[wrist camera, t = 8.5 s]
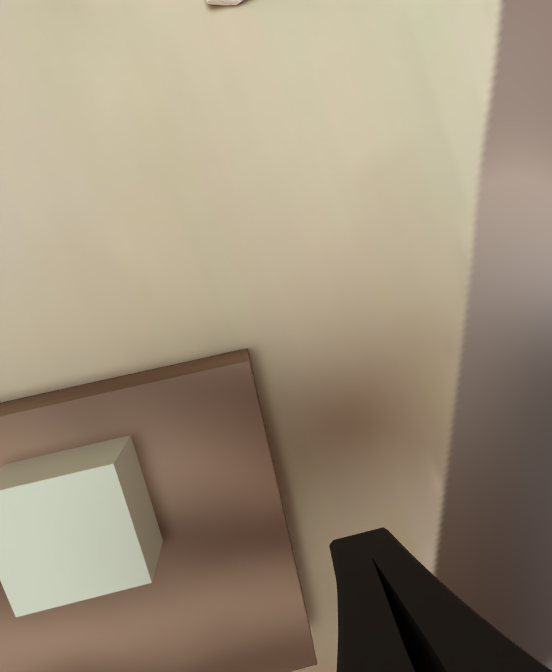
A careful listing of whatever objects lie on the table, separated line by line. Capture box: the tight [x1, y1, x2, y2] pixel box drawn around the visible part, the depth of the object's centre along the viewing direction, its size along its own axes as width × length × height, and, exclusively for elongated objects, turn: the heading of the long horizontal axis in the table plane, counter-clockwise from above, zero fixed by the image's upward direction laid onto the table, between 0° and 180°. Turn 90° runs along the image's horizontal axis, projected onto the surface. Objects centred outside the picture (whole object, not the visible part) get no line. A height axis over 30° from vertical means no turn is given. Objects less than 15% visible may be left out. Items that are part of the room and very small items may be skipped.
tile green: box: [0, 435, 163, 617], centre depth 13 cm, size 4×4×2 cm
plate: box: [0, 349, 317, 672], centre depth 16 cm, size 14×14×2 cm
